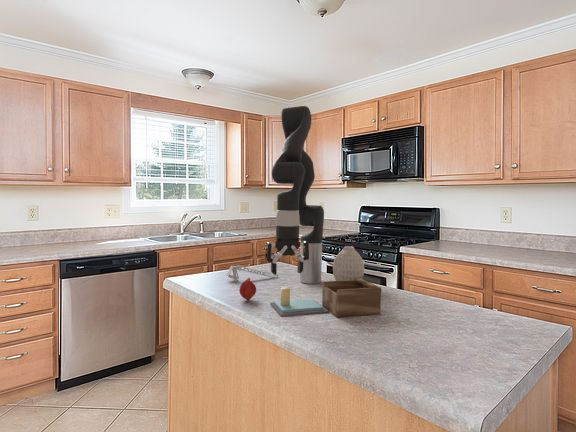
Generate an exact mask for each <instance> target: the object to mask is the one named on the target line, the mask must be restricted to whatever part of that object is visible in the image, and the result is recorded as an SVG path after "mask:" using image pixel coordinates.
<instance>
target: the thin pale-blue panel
mask: <svg viewBox="0 0 576 432" xmlns="http://www.w3.org/2000/svg"><path fill="white" fill-rule="evenodd" d="M314 300H315V299H314V298H305V299H291V288H290V287H287V286H286V287H281V288H280V300H276V301H273V302H274V304H275V305H276V306H277V308H278V309H279V310H280V311H281V312H282V313H285V312H298V311H310V310H323V307H322V306H321V305H322V304H320V303H319V302H318V301H316V300H315V301H314ZM317 302H318V303H319V304H318V303H317Z"/></svg>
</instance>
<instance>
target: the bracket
mask: <svg viewBox="0 0 576 432" xmlns="http://www.w3.org/2000/svg"><path fill="white" fill-rule="evenodd" d="M240 271H243V272H247V273H250V274H255V275H261V276H265V277H269V278H274V279H277V278H278V277H279V274H278V273H277V274H276V275H275V276H274V274H273V273H272V272H268V271H267V270H266V271H261V270H258V269H255V268H250V267H247V266H243V265H230V267H229V269H228V271H227V274H226V277H227V278H231V279H232V280H234V281H236V282H238V280H239V279H240V277H239V274H238V272H240ZM231 273H232V274H231ZM272 275H273V276H272Z"/></svg>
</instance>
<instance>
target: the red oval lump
mask: <svg viewBox="0 0 576 432" xmlns="http://www.w3.org/2000/svg"><path fill="white" fill-rule="evenodd" d="M256 293H257V287H256V284H255V283H254V282H253V281H252V280H251V277H248V278H246V280H244V281H243V282H242V283H241V284H240V286H239V294H240V296H241V297H242V298H243V299H244V300H246V301H250V300H251V299H252V298H253V297H254V296H255V295H256Z"/></svg>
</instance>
